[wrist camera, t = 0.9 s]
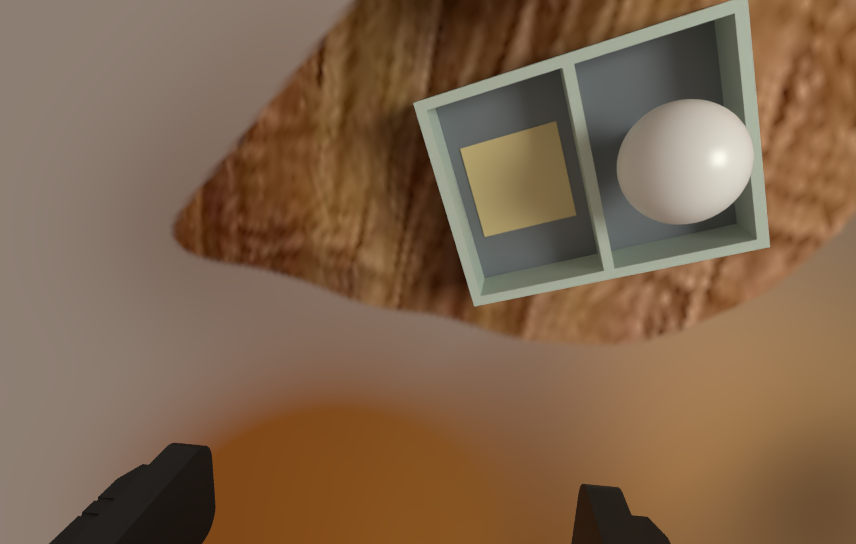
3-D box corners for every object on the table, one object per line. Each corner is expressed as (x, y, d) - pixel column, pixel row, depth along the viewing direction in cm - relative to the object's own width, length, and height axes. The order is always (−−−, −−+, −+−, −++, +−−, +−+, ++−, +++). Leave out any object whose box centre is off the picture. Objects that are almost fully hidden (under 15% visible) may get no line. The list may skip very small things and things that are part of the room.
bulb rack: (426, 98, 33) (388, 112, 24) (717, 4, 28) (805, -22, 19) (479, 280, 37) (464, 351, 28) (741, 224, 32) (823, 287, 23)
